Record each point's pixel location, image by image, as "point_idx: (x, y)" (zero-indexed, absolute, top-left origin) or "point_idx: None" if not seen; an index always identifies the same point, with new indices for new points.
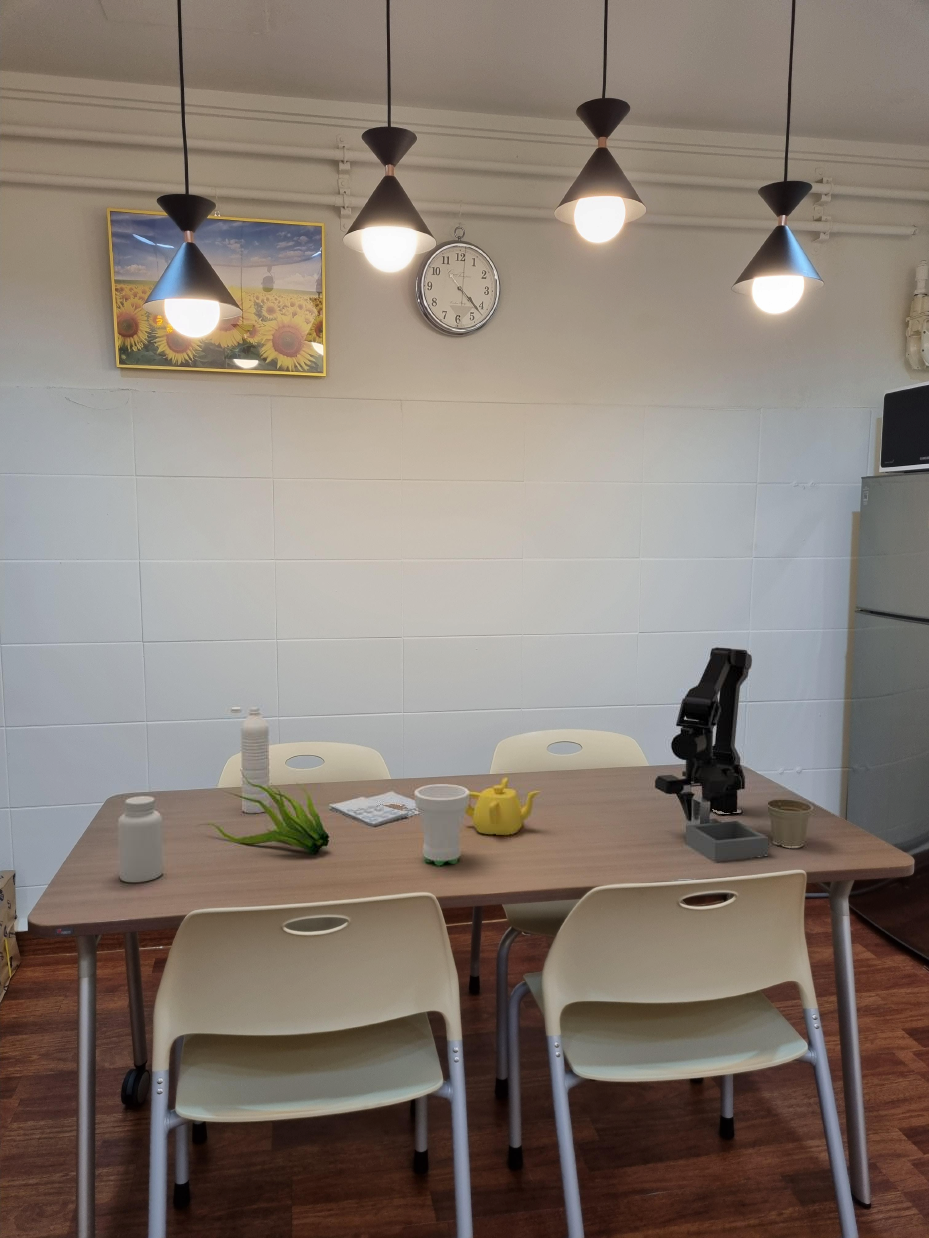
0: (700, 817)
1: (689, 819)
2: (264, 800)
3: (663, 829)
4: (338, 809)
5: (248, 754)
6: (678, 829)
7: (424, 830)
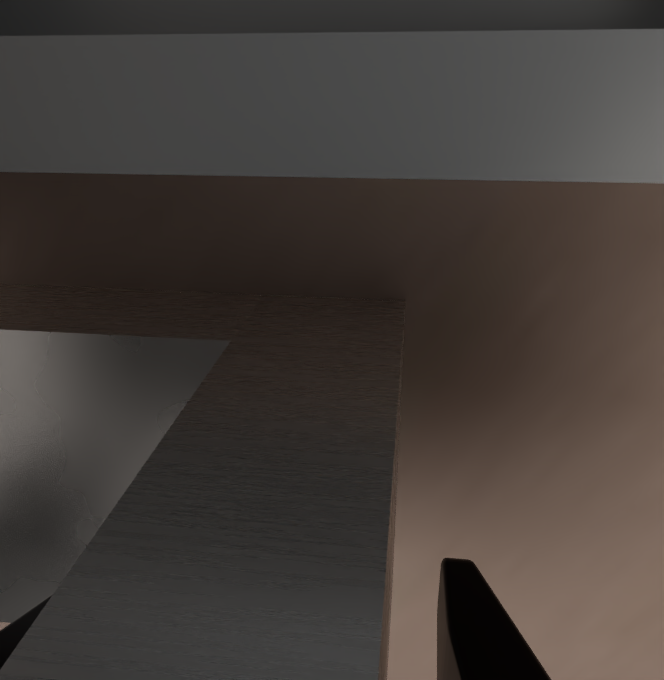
0: (385, 453)
1: (481, 576)
2: None
3: (624, 654)
4: None
5: None
6: None
7: None
